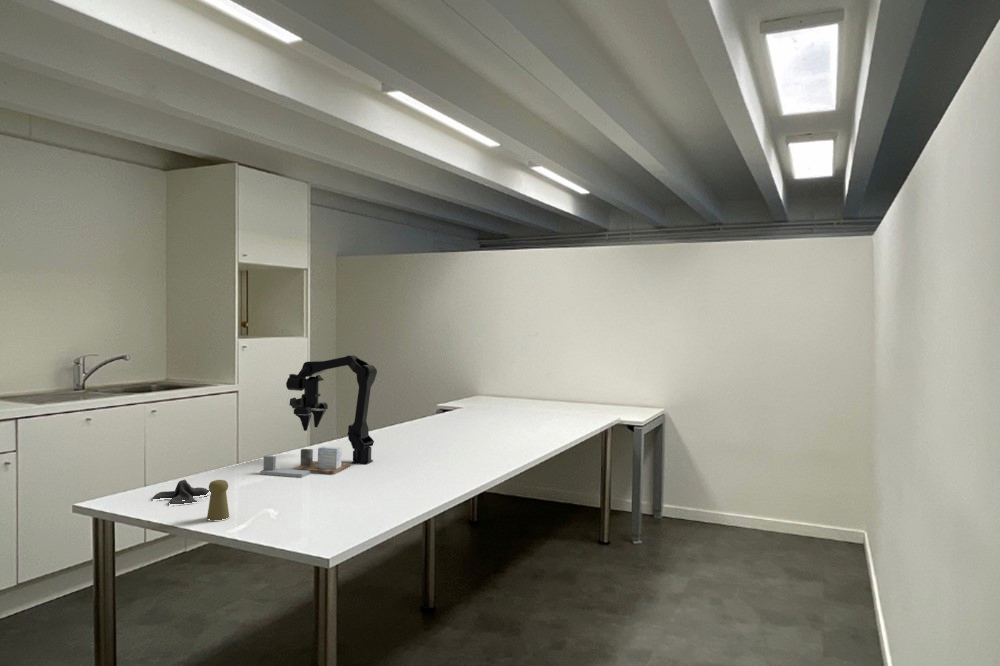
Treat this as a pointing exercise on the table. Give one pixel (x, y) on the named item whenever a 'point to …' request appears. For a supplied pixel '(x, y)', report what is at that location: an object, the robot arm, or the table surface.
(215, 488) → the cork
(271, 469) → the grey strip
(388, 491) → the table surface
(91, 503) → the table surface
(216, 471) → the table surface
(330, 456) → the medicine box
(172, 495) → the cloth
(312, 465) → the brown wooden frame
